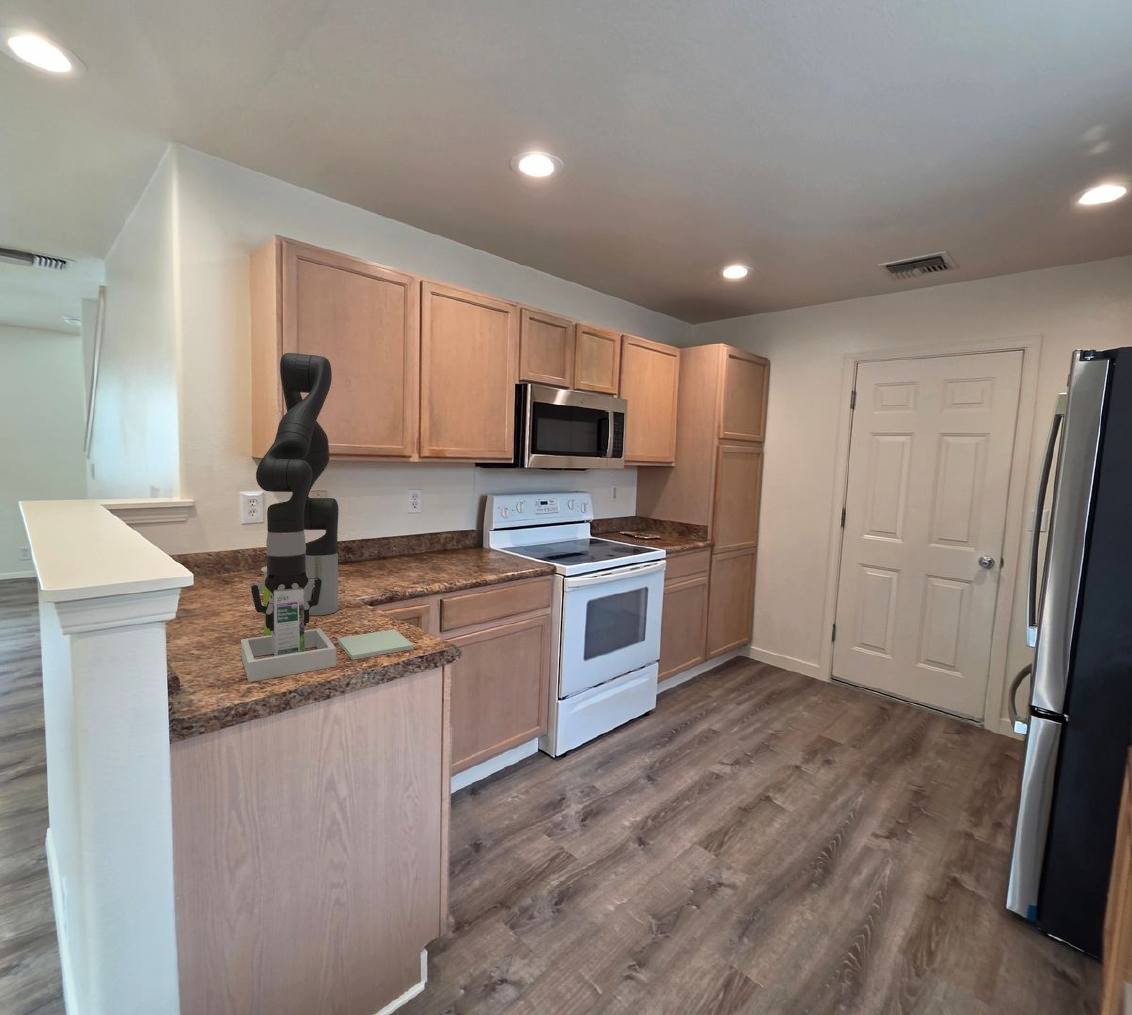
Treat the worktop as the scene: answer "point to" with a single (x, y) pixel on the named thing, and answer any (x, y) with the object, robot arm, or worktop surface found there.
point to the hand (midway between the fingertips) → (287, 627)
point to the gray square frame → (286, 656)
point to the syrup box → (288, 621)
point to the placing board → (374, 644)
